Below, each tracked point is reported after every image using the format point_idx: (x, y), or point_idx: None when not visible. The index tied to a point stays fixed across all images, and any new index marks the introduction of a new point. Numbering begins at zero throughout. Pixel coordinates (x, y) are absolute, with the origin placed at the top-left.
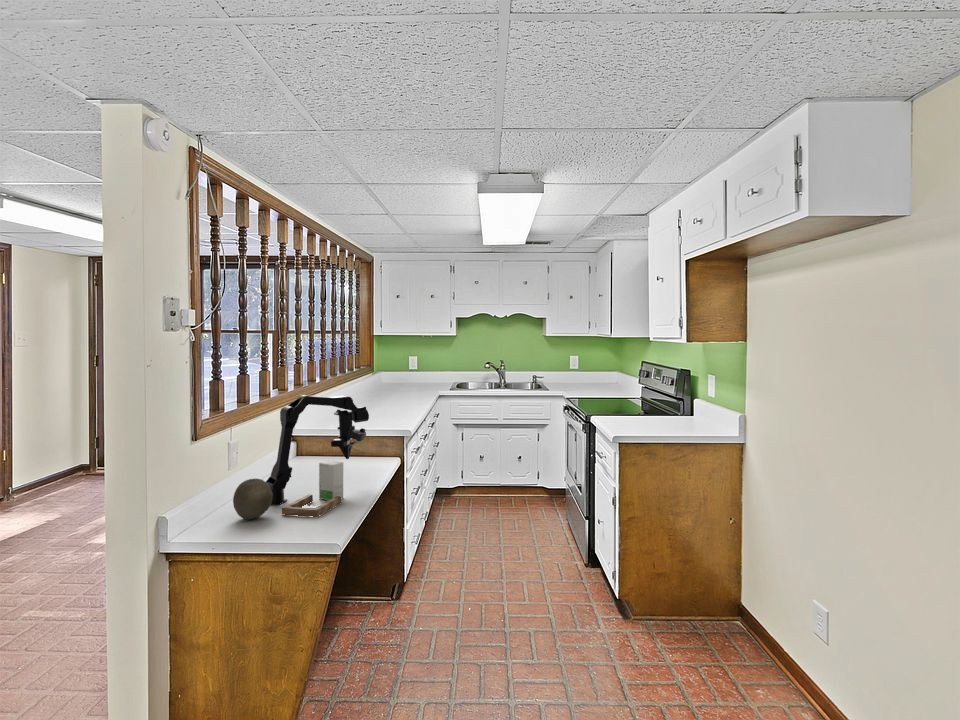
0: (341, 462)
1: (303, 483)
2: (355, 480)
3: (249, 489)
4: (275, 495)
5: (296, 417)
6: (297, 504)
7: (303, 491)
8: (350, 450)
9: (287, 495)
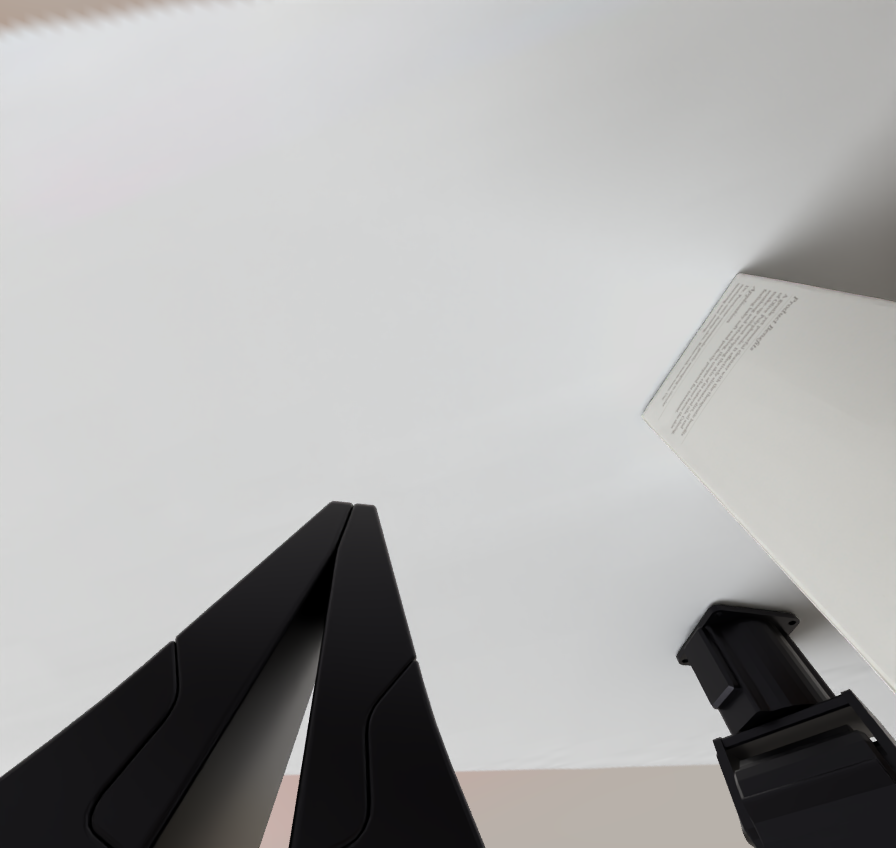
0: None
1: None
2: (120, 358)
3: None
4: (822, 679)
5: None
6: None
7: (497, 591)
8: (189, 666)
9: (583, 632)
